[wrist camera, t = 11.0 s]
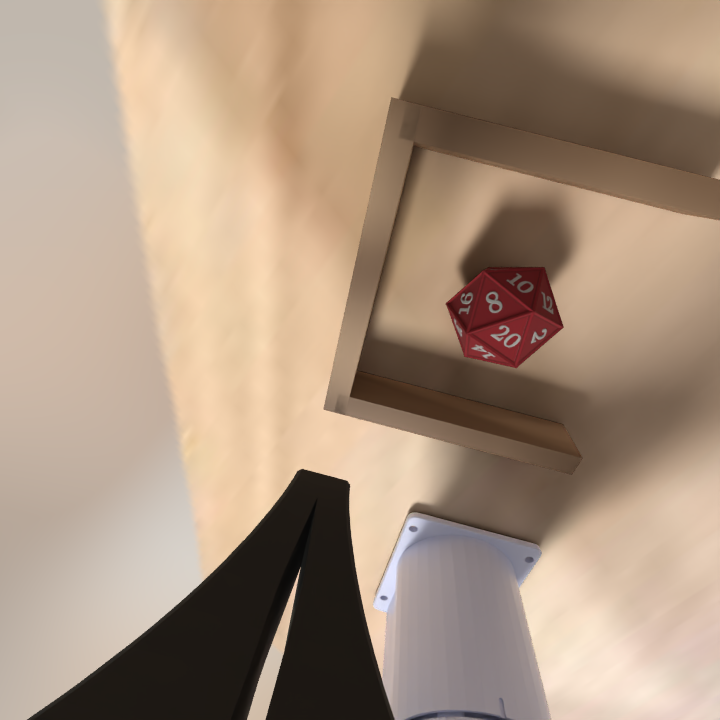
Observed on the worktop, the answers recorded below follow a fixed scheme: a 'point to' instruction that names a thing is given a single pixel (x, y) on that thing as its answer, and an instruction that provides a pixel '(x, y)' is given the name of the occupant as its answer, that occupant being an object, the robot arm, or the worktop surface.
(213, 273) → the worktop surface
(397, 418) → the tray frame
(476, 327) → the dice
